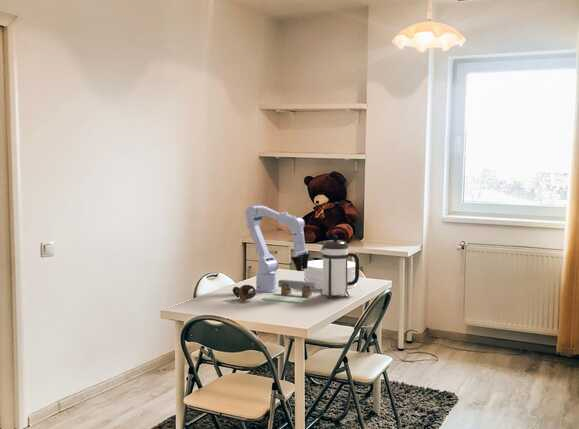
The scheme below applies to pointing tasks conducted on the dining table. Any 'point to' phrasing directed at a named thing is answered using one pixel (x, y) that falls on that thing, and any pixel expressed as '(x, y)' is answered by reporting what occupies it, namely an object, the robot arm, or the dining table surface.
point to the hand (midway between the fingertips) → (302, 269)
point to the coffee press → (337, 267)
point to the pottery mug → (244, 292)
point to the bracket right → (306, 292)
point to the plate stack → (316, 273)
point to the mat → (285, 299)
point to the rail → (296, 284)
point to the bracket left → (285, 290)
